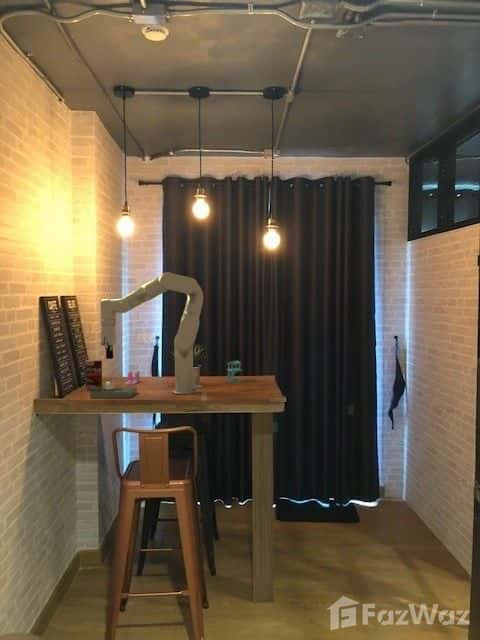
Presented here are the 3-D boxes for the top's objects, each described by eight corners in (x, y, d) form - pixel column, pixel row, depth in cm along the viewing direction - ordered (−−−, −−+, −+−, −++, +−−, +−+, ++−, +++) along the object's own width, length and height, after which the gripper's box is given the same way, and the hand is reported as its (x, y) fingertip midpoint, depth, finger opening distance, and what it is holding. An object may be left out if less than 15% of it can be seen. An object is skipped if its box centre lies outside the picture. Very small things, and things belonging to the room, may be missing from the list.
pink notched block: (130, 382, 304) (129, 370, 304) (139, 382, 304) (139, 370, 303) (123, 386, 291) (123, 373, 291) (133, 386, 291) (133, 373, 291)
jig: (136, 392, 271) (136, 387, 270) (128, 398, 257) (128, 392, 257) (100, 392, 272) (99, 386, 272) (90, 398, 259) (89, 392, 258)
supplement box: (86, 390, 280) (85, 361, 279) (86, 388, 284) (85, 360, 283) (102, 389, 282) (101, 360, 281) (102, 387, 287) (101, 359, 286)
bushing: (116, 394, 267) (116, 381, 267) (113, 396, 262) (113, 382, 262) (107, 394, 267) (106, 380, 267) (103, 396, 262) (103, 382, 262)
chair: (225, 380, 304) (224, 360, 303) (238, 379, 307) (237, 359, 307) (230, 382, 297) (230, 362, 296) (243, 381, 300) (243, 361, 300)
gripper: (106, 322, 271) (107, 356, 272) (96, 324, 256) (97, 360, 257) (120, 322, 270) (121, 356, 271) (110, 323, 255) (111, 360, 256)
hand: (109, 358), depth 264 cm, fingers closed
